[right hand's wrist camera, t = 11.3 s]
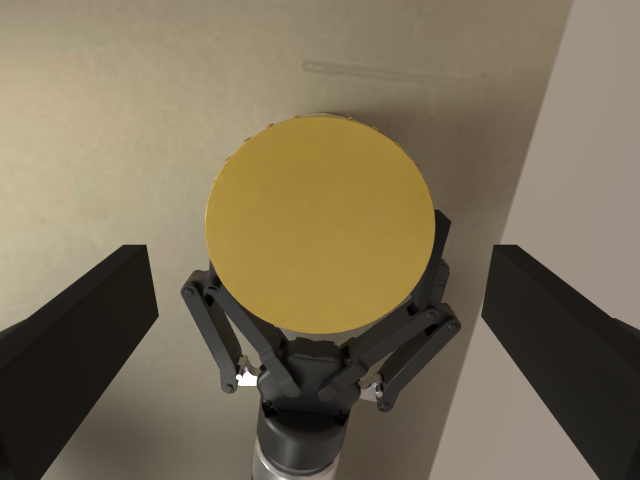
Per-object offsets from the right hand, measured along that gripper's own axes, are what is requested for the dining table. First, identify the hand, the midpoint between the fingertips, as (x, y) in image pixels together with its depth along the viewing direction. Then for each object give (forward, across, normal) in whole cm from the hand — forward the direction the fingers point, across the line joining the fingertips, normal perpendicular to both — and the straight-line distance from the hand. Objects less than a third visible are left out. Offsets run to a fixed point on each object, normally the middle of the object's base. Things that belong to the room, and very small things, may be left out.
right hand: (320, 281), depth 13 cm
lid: (+5, 0, 0) cm, 5 cm away
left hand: (+13, -1, +1) cm, 13 cm away
